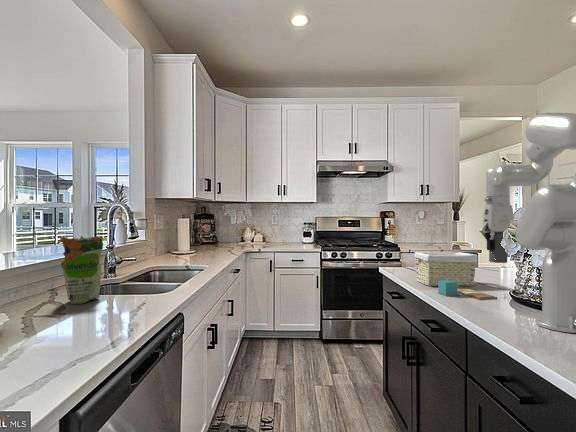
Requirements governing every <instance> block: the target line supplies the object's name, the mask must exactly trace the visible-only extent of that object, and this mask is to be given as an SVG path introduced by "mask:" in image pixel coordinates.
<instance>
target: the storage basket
mask: <svg viewBox="0 0 576 432" xmlns="http://www.w3.org/2000/svg"><path fill="white" fill-rule="evenodd" d="M414 261H415V275H416V281H417V282H418V283H421V284H423V285H425V286H429V287H438V280H451V281H455V282H457V286H460V287H463V286H464V287H469V286H470V287H473V286H474V284H475V283H474V282H475V276H476V274H475V273H476V268H477V267H476V266H477V263H478V255H477V254H473V253H467V252H461V251H459V252H458V251H457V252H456V251H455V252H454V251H415V252H414Z"/></svg>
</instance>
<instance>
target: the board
mask: <svg viewBox="0 0 576 432" xmlns="http://www.w3.org/2000/svg"><path fill="white" fill-rule="evenodd" d="M457 294H460V295H462V296H465V297H469V298H471V299H475V300H478V301H483V300H484V301H485V300H498V297H497V296H495V295H491V294H488V293H485V292H480V291H477V290H473V289H469V288H466V287H463V286H457Z"/></svg>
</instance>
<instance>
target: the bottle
mask: <svg viewBox="0 0 576 432" xmlns="http://www.w3.org/2000/svg"><path fill="white" fill-rule="evenodd" d="M490 234H491V233H490ZM502 239H503V232H495V234H494V238H493V240H495V250H494V251H490V250H488V255H489V256H488V261H489V262H490V263H493V264H495V263H496V264H507V263H508V252H507V253H506V252H505V250H504V248H503V247H502V246H501V244H500V243H501V241H502ZM491 252H492V253H491ZM494 258H495V259H496V260H495V259H494Z"/></svg>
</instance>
